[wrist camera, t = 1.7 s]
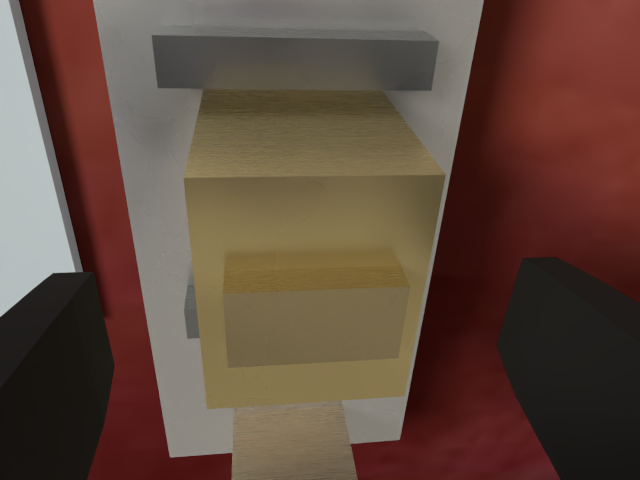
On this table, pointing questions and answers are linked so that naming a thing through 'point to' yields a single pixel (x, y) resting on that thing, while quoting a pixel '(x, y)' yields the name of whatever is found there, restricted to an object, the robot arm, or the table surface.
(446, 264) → the table surface
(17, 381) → the robot arm
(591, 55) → the table surface
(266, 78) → the grey piece
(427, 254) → the wooden block with pad
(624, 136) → the table surface
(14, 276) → the mat
